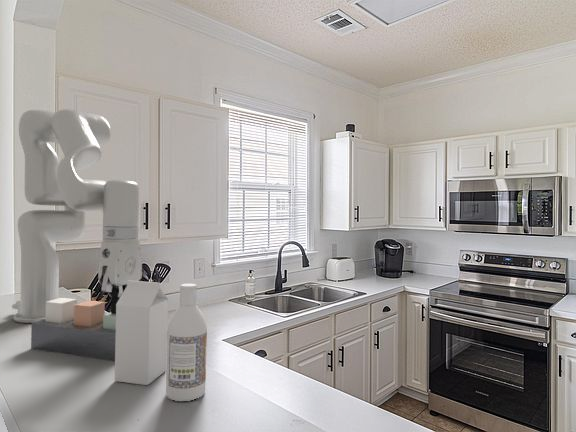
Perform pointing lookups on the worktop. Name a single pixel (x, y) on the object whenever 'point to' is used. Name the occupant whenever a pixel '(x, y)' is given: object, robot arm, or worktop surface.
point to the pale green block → (109, 321)
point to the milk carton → (141, 333)
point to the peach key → (89, 313)
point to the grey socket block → (74, 339)
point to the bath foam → (186, 349)
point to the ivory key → (60, 310)
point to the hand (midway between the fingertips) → (119, 313)
